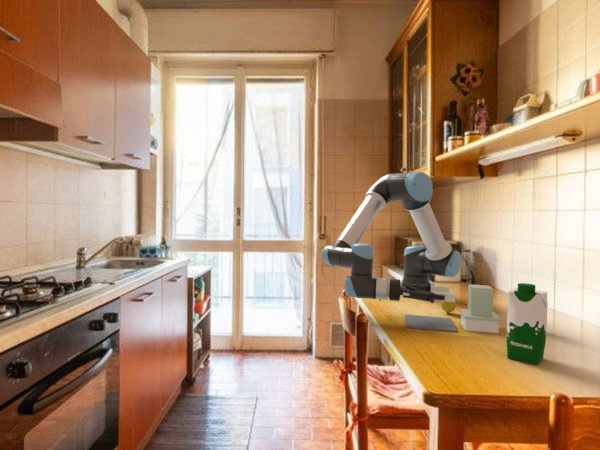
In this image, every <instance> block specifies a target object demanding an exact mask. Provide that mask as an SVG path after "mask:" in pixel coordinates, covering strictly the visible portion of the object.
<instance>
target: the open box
mask: <svg viewBox="0 0 600 450" xmlns="http://www.w3.org/2000/svg"><path fill="white" fill-rule="evenodd" d="M460 324H461V326H462V327H463V328H464V331H466V332H467V331H469V332H477V333H478V332H479V333H490V334H500V322H499V321H487V320H474V319H465V318H464V317H463V315H462V314H461V313H460Z"/></svg>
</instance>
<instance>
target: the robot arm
mask: <svg viewBox="0 0 600 450" xmlns="http://www.w3.org/2000/svg"><path fill="white" fill-rule="evenodd" d="M433 187H434V186H433V181H432V179H431V178H430V176H429V175H428V174H427V173H425V172H423V171H410V172H400V173H398V172H396V173H394V172H393V173H388V174H385V175H384V176H382V177H380V178H379V179H378V180H377V181H376V182H374V184H373V185H371V187H370V188H369V189H368V191H367V192H366V193H365V195H364V198H365V199H364V200H363V201H362V203H361V204H360V206H359V207H358V209H357V210H356V212H355V213H354V214H353V215H352V217H351V219H350V220H349V221H348V223H347V224H346V225H345V228H343V230H342V232H341V233H340V234H339V235H338V237H337V239H336V240H335V241H334V242H333V245H326V246H324V248H323V249H322V251H321V259H322V262H323V263H324V264H326V265H329V266H333V267H340V268H346V269H350V275H348V276H347V275H346V276H345V280H344V293H345V296H347V297H350V298H356V299H368V300H369V299H372V300H378V301H379V302H381V301H382V300H384V301H387V300H389V301H394V302H400V300H401V296H402V298H403V299H413V300H417V301H418V300H419V301H424V302H429V303H431V304H434V303H435V302H441V301H444V302H455V299H456V293H451V286H443V285H442V286H441V285H431V282H430V275H432V276H437V277H444V278H455V277H456V276H458V274H459V272H460V270H461V268H462V264H463V262H462V261H463V257H462V254H461V252H459V251H458V250H455V251H454V249H453V247H452V245H451V244H450V243H449V242H446V239H445V237H444V235H443V233H442V231H441V230H442V229H441V228H440V225H439V223H438V221H437V219H436V216H435V213H434V211H433V209H432V207H431V204H430V202H431V200H432V196H433V193H434V189H433ZM392 202H400V203H401V206H402V208H403V209H404V210H405V211H408V212H409V214H410V215H411V219H412V220H413V222H414V225H415V227H416V229H417V232H418V233H419V236H420V238H421V240H422V242H423V245H417V246H416V245H415V246H406V247H405V248H404V252H403V278H402V280H400V279H397V278H396V279H395V278H390V279H388V278H385V277H384V278H383V277H373V268H374V267H373V263H374V248H373V245H371V244H369V243H359V242H360V241H361V239H362V238H363V236H364V235H365V233H366V231H367V230H368V229H369V227H370V226H371V224H372V222H373V221H374V219H375V218H376V216H377V215H378V214H379V212H380V210H382V209H385V207H386V206H387V205H388V204H389V203H392Z"/></svg>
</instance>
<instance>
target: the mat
mask: <svg viewBox="0 0 600 450" xmlns="http://www.w3.org/2000/svg"><path fill="white" fill-rule="evenodd" d="M404 316H405V317H404V318H405V328H408V329H416V330H417V329H418V330H419V329H420V330H428V331H429V330H430V331H439V332H440V331H441V332H448V333H449V332H452V333H458V329H457V327H456V325H455V324H454V322H453V319H452V317H445V316H444V317H441V316H429V315H428V316H427V315H418V314H417V315H416V314H406V313H405V314H404Z"/></svg>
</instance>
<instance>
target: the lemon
mask: <svg viewBox="0 0 600 450" xmlns="http://www.w3.org/2000/svg"><path fill="white" fill-rule="evenodd" d="M440 306H441V309H442V310H443V311H444V312H445V313H447V314H450V313H451V312H454V311H455V310H456V307H457V300H456V298H455V302H444V301H440Z"/></svg>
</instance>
